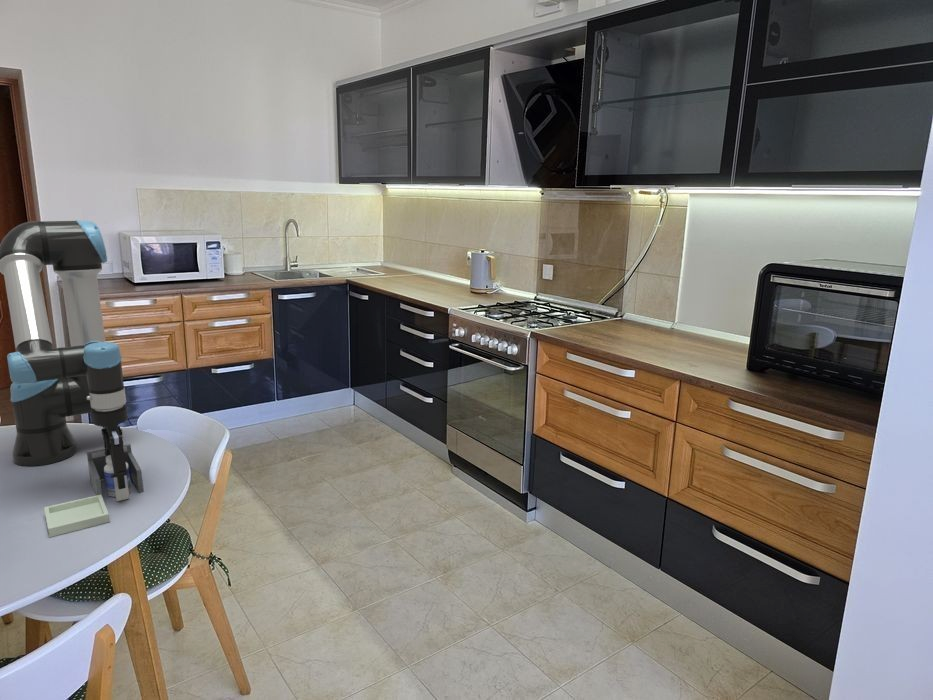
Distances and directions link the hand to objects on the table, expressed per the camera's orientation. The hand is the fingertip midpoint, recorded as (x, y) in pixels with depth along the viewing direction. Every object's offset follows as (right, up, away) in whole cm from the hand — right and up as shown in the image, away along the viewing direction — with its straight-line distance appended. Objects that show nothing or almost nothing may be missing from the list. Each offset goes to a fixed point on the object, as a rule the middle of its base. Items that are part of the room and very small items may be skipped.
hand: (119, 491), depth 159 cm
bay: (-2, +1, +3) cm, 4 cm away
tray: (-3, -3, -13) cm, 13 cm away
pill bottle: (0, 0, 0) cm, 0 cm away
